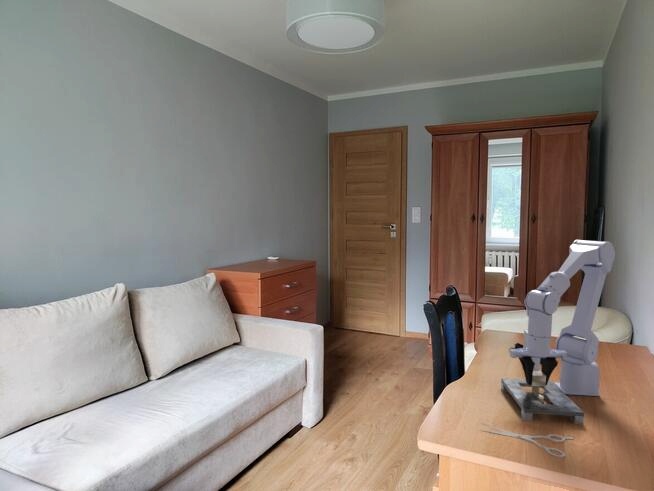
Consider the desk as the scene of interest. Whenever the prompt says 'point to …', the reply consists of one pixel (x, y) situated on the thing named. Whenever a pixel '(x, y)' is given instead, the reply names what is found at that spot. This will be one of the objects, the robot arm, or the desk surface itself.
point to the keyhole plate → (532, 404)
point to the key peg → (538, 383)
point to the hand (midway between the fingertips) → (536, 383)
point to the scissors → (529, 438)
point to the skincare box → (535, 360)
